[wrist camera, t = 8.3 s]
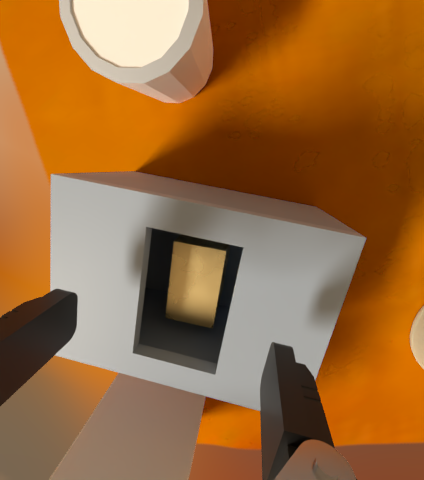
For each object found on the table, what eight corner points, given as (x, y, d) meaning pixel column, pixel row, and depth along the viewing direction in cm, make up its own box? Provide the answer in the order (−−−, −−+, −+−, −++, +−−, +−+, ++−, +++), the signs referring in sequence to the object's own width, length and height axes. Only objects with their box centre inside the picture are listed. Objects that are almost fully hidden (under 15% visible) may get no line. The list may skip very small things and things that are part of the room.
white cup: (160, -27, 17) (101, -151, 10) (243, 42, 17) (237, -35, 11) (108, 72, 19) (31, 22, 12) (184, 133, 19) (148, 115, 13)
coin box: (316, 206, 19) (366, 238, 11) (281, 323, 22) (300, 422, 14) (134, 171, 21) (51, 174, 12) (124, 286, 24) (50, 354, 15)
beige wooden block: (233, 229, 20) (226, 251, 15) (222, 288, 21) (212, 328, 16) (194, 222, 20) (174, 241, 15) (186, 281, 22) (165, 317, 16)
